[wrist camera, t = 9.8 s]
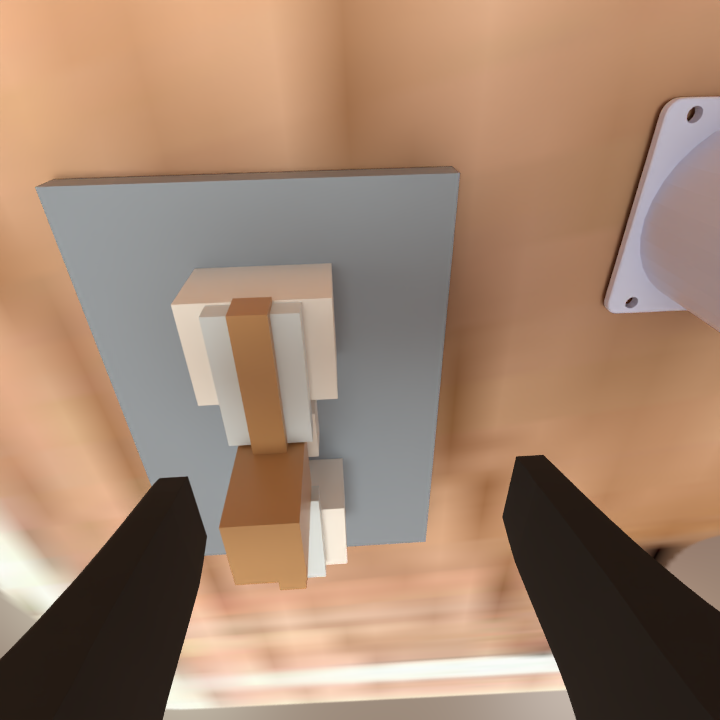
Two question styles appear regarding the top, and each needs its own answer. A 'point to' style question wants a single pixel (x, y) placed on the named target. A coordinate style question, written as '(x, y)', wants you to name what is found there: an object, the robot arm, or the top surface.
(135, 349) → the display stand
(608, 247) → the top surface
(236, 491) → the brown and white bar
